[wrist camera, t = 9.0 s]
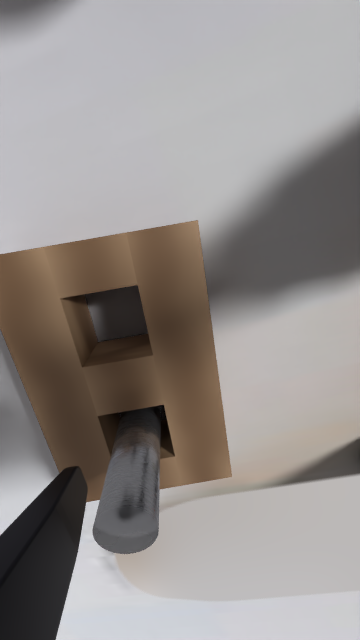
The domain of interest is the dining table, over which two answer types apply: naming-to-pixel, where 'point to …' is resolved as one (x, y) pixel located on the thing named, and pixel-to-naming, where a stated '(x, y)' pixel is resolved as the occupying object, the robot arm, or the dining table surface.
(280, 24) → the dining table surface
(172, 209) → the dining table surface
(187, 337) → the peg board
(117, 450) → the peg
